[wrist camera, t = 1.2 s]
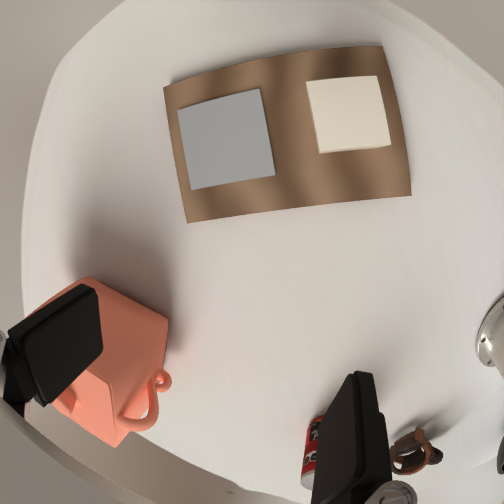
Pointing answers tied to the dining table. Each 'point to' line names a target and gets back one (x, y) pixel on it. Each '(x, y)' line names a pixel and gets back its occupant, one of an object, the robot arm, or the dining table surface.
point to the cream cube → (348, 114)
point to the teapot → (119, 369)
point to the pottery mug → (414, 453)
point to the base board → (294, 136)
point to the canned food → (310, 454)
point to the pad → (226, 140)
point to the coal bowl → (500, 458)
